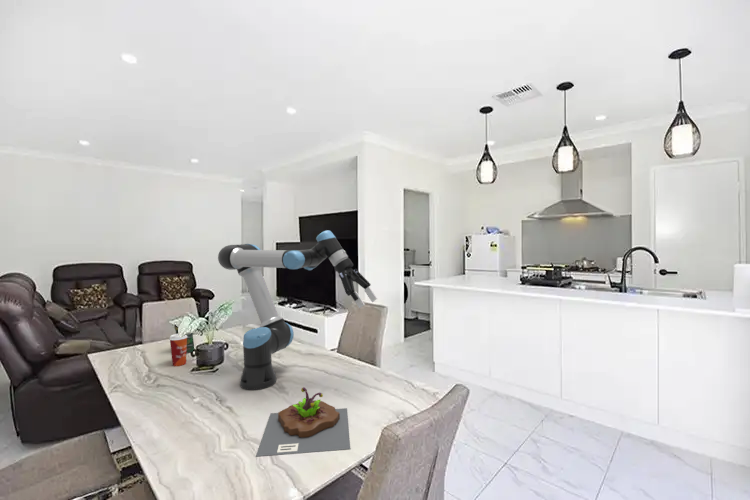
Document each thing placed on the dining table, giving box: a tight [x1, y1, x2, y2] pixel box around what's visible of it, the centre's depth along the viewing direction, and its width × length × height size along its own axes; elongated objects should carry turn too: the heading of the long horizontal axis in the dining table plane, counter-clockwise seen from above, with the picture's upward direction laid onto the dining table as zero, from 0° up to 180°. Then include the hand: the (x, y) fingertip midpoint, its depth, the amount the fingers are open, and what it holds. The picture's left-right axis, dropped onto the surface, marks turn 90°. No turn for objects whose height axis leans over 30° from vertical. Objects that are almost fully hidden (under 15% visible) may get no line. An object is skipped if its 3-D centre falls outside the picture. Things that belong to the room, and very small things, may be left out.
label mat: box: [255, 407, 351, 458], centre depth 122 cm, size 28×26×1 cm
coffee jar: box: [173, 324, 195, 354], centre depth 205 cm, size 10×8×19 cm
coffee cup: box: [169, 333, 188, 367], centre depth 186 cm, size 8×8×15 cm
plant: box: [277, 386, 340, 437], centre depth 128 cm, size 20×20×11 cm
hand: (368, 303), depth 154 cm, fingers open, 13 cm apart
